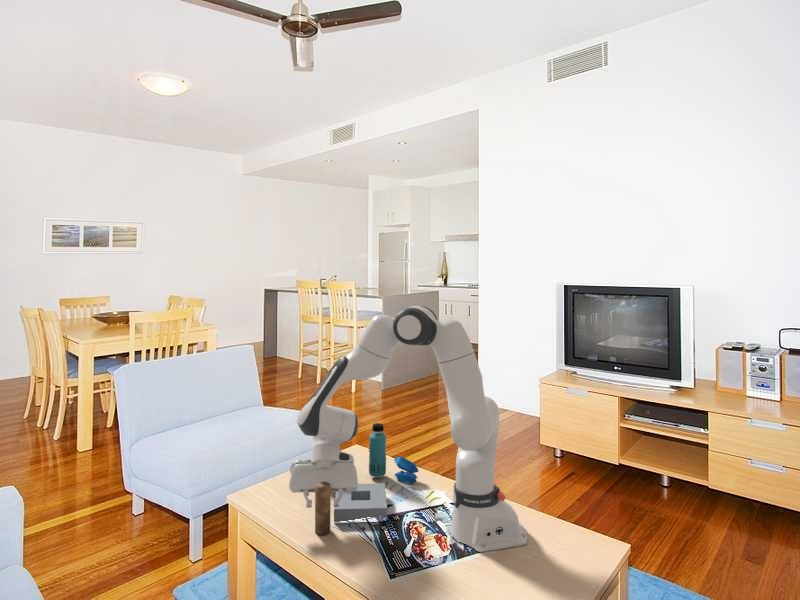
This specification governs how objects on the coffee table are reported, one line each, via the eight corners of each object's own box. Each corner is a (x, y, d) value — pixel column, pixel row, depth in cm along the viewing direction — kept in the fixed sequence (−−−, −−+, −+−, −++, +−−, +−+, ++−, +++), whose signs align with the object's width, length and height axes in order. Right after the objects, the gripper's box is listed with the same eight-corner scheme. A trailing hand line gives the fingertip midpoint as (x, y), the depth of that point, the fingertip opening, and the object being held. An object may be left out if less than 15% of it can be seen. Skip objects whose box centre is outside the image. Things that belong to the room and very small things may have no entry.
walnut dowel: (330, 527, 141) (331, 481, 140) (329, 535, 137) (330, 488, 135) (315, 527, 141) (315, 482, 140) (314, 536, 136) (314, 489, 135)
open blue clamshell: (417, 470, 165) (389, 457, 170) (411, 491, 167) (384, 477, 171) (425, 463, 171) (398, 450, 176) (420, 483, 173) (393, 470, 178)
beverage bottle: (384, 472, 178) (384, 420, 176) (388, 480, 171) (388, 426, 170) (367, 474, 176) (367, 421, 175) (370, 482, 170) (370, 428, 168)
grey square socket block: (384, 496, 160) (384, 483, 160) (386, 522, 144) (387, 507, 144) (336, 497, 159) (336, 484, 158) (333, 523, 143) (334, 509, 142)
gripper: (290, 456, 143) (284, 504, 134) (358, 455, 145) (357, 502, 136) (292, 464, 148) (287, 510, 139) (358, 463, 149) (357, 509, 141)
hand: (322, 506), depth 137 cm, fingers open, 6 cm apart
